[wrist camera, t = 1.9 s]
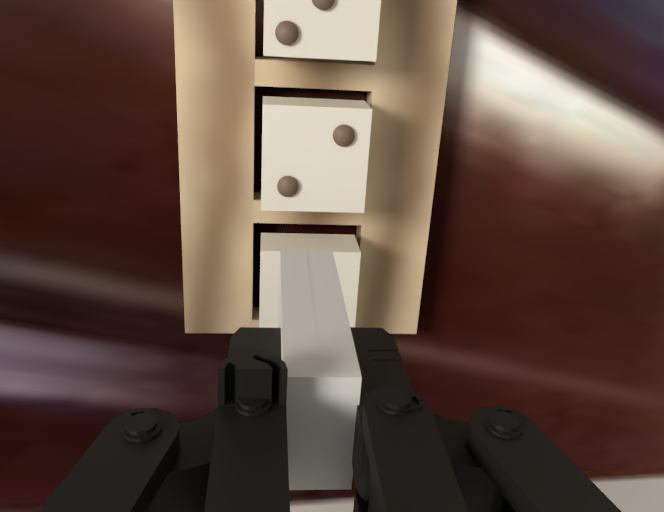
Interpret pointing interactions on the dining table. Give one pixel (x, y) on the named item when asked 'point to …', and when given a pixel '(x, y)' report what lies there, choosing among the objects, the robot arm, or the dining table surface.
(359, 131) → the two pip tile
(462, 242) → the dining table surface
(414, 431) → the robot arm
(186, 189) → the button board
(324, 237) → the one pip tile
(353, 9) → the three pip tile
